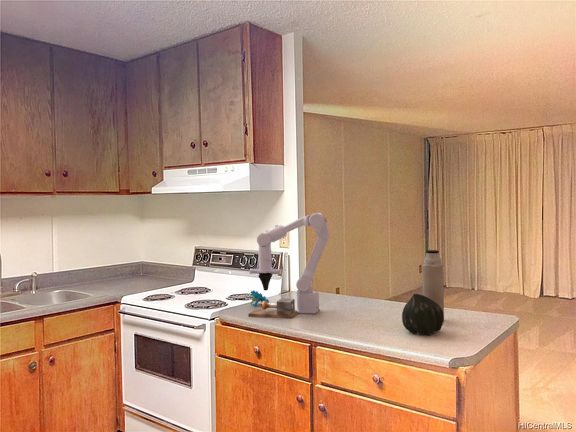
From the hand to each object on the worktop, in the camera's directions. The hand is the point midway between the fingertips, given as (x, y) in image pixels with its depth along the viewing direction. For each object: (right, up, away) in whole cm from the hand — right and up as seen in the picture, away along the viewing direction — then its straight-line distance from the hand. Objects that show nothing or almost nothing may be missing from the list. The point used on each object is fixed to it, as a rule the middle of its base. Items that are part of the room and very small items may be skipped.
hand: (265, 290), depth 211 cm
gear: (-4, -9, +12) cm, 16 cm away
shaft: (+6, -7, -8) cm, 12 cm away
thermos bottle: (+68, -9, -23) cm, 72 cm away
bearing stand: (+3, -10, -7) cm, 12 cm away
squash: (+59, -10, -39) cm, 72 cm away
